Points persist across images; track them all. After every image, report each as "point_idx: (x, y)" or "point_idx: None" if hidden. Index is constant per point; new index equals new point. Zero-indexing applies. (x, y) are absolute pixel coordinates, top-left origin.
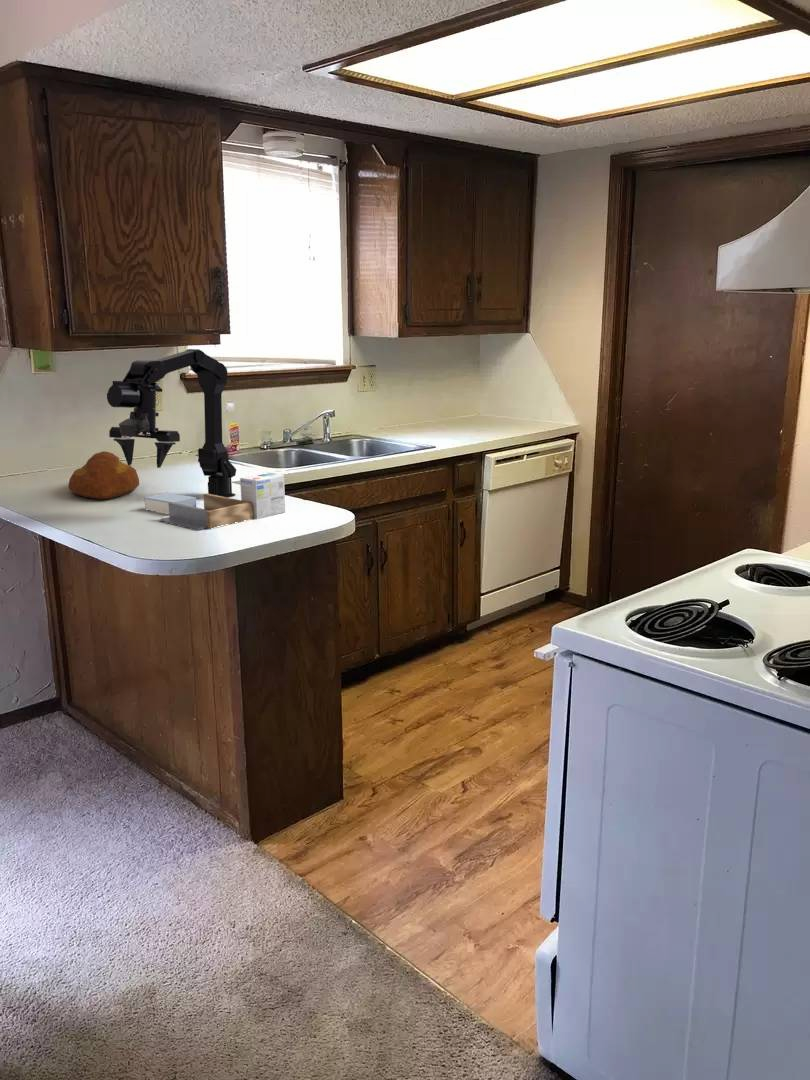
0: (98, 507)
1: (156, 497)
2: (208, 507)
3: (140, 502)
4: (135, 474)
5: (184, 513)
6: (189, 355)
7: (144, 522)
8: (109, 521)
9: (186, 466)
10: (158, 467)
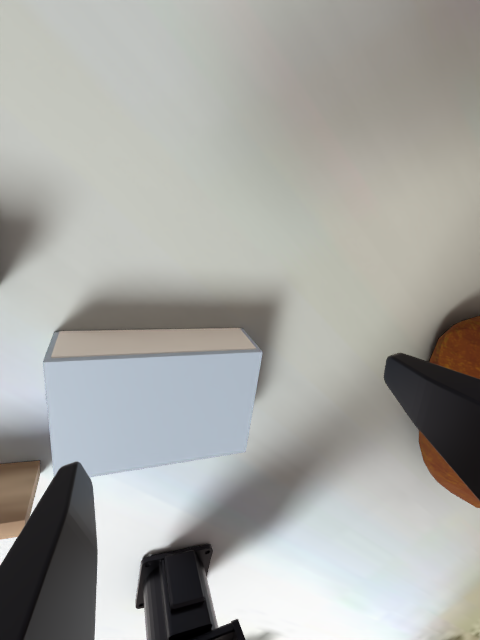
0: (410, 263)
1: (215, 379)
2: (1, 474)
3: (333, 385)
4: (457, 488)
5: None
6: None
7: (45, 146)
8: (223, 79)
9: (437, 604)
10: (60, 468)
